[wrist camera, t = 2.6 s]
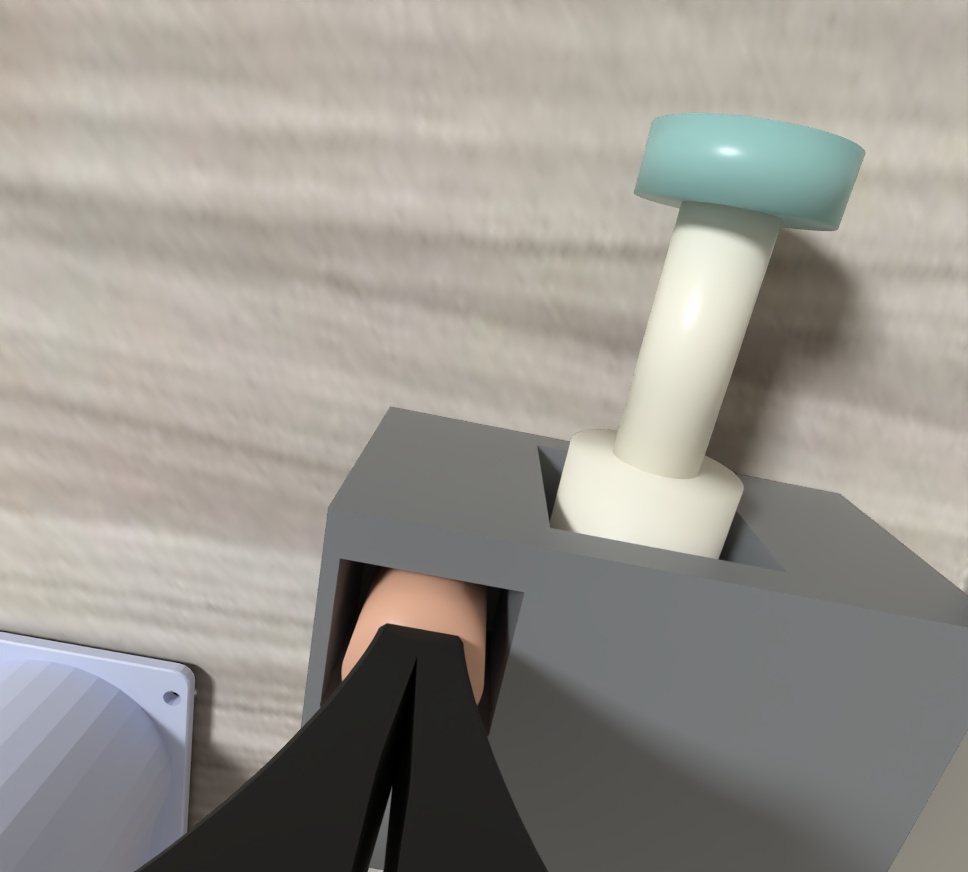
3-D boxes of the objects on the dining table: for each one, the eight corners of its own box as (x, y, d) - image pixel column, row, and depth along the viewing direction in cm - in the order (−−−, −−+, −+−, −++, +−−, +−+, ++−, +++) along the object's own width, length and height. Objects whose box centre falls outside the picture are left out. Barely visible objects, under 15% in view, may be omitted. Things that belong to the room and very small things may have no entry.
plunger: (476, 632, 14) (469, 745, 11) (371, 613, 14) (334, 722, 11) (498, 538, 13) (496, 633, 10) (386, 517, 13) (351, 606, 10)
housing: (741, 729, 19) (844, 946, 13) (351, 660, 18) (285, 853, 13) (840, 494, 16) (1020, 637, 11) (390, 406, 16) (327, 507, 10)
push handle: (622, 711, 17) (651, 830, 14) (496, 689, 17) (494, 804, 14) (803, 170, 13) (913, 150, 9) (633, 133, 13) (682, 99, 9)
